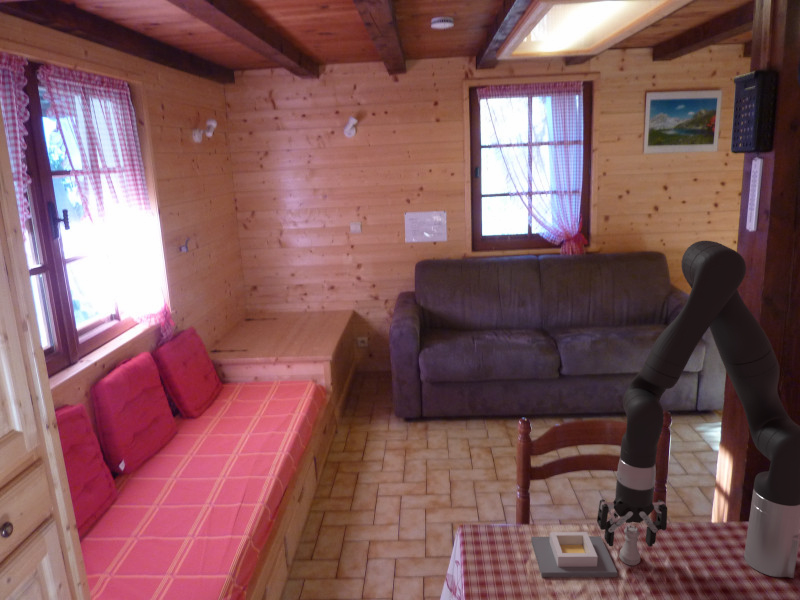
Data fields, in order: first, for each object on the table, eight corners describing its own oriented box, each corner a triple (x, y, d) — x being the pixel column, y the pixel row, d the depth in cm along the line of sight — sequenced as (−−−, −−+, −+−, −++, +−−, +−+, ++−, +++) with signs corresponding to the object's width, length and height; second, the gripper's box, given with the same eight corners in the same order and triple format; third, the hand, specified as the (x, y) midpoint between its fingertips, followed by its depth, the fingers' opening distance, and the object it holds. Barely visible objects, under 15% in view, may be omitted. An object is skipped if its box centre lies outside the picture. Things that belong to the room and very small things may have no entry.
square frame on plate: (600, 540, 138) (601, 526, 137) (617, 576, 127) (618, 562, 126) (531, 541, 139) (531, 527, 138) (541, 577, 127) (542, 562, 126)
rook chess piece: (642, 567, 129) (644, 535, 127) (620, 565, 130) (623, 533, 128) (638, 554, 134) (641, 523, 132) (617, 551, 134) (619, 521, 132)
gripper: (607, 488, 123) (602, 555, 127) (677, 488, 123) (669, 555, 127) (596, 469, 130) (591, 533, 135) (662, 469, 130) (655, 533, 134)
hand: (629, 544), depth 131 cm, fingers open, 8 cm apart
